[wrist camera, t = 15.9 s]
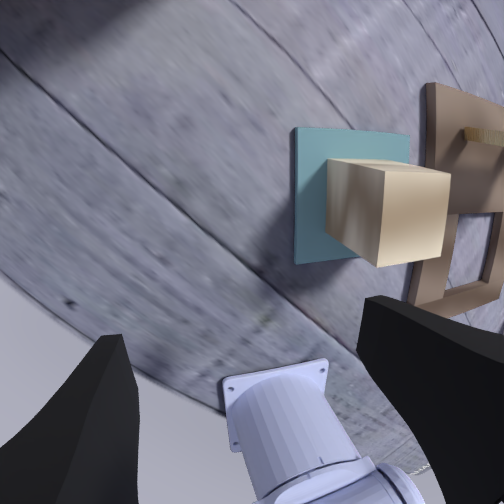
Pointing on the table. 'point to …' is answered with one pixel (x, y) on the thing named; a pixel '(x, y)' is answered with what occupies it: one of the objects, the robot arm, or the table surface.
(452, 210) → the puzzle board
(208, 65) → the table surface
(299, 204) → the teal square plate
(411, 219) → the birch block
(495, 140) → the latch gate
